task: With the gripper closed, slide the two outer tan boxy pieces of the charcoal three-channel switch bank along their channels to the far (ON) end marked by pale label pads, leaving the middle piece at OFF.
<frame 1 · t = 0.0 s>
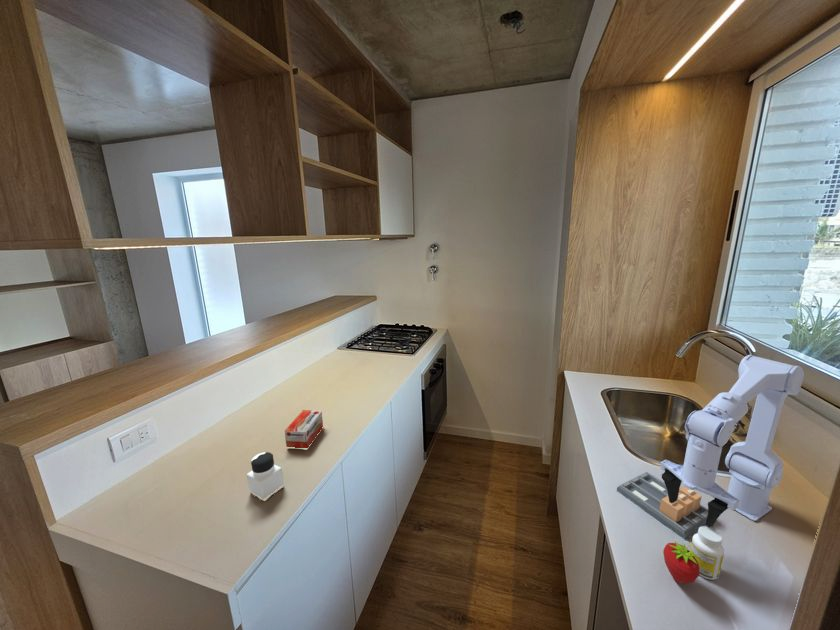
hand: (690, 512, 78), 10 cm above the worktop, fingers open, 7 cm apart
switch bank: (662, 504, 93), on the worktop
medicine bottle: (267, 491, 102), on the worktop
strawberry: (676, 580, 73), on the worktop
supplement bottle: (702, 569, 76), on the worktop
tan boxy piece 3: (671, 508, 87), point 4 cm above the worktop, slide at 0.0 cm
medicine box: (306, 438, 128), on the worktop
tan boxy piece 1: (689, 497, 90), point 4 cm above the worktop, slide at 0.0 cm
tan boxy piece 2: (680, 503, 89), point 4 cm above the worktop, slide at 0.0 cm
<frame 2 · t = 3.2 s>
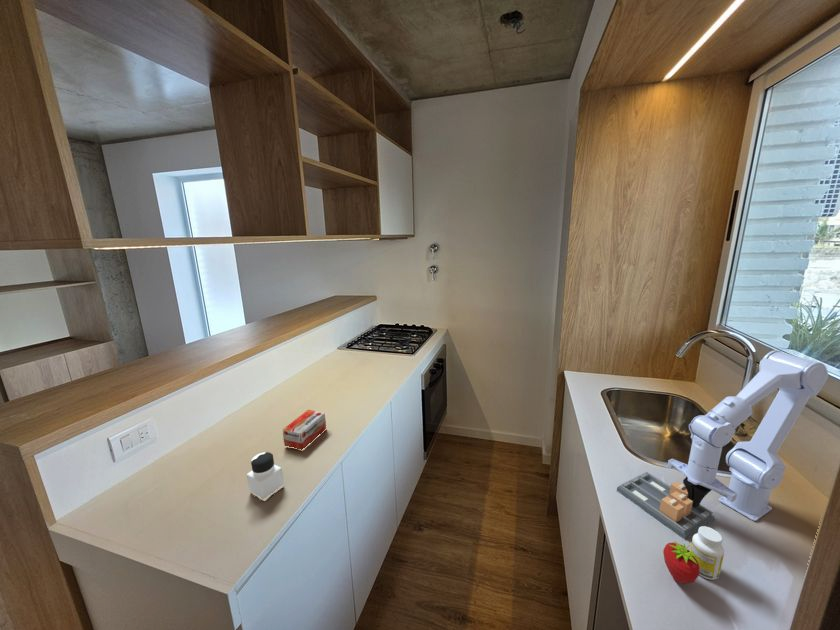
hand: (694, 504, 89), 3 cm above the worktop, fingers closed
tan boxy piece 1: (680, 492, 92), point 4 cm above the worktop, slide at 2.1 cm, touching gripper
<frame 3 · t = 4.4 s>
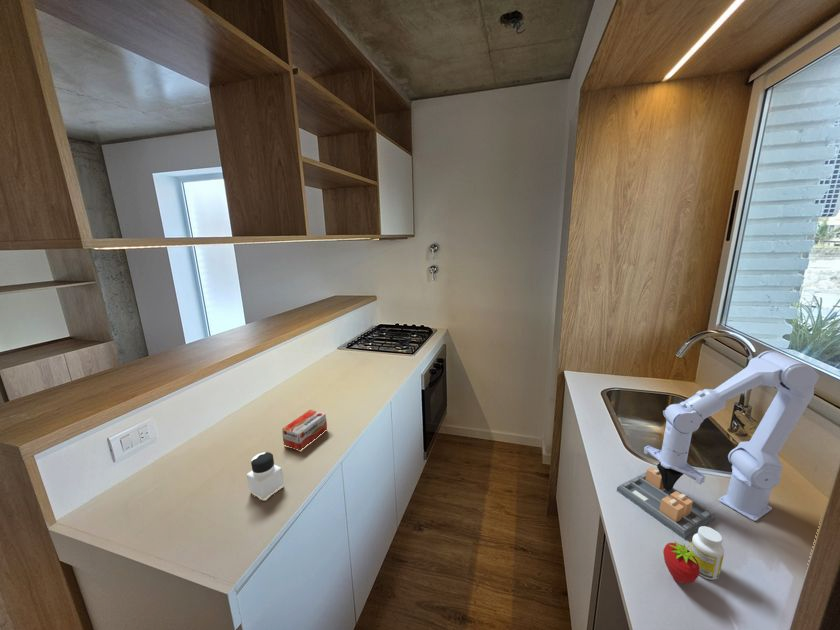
hand: (667, 488, 95), 3 cm above the worktop, fingers closed
tan boxy piece 1: (655, 477, 98), point 4 cm above the worktop, slide at 8.7 cm, touching gripper
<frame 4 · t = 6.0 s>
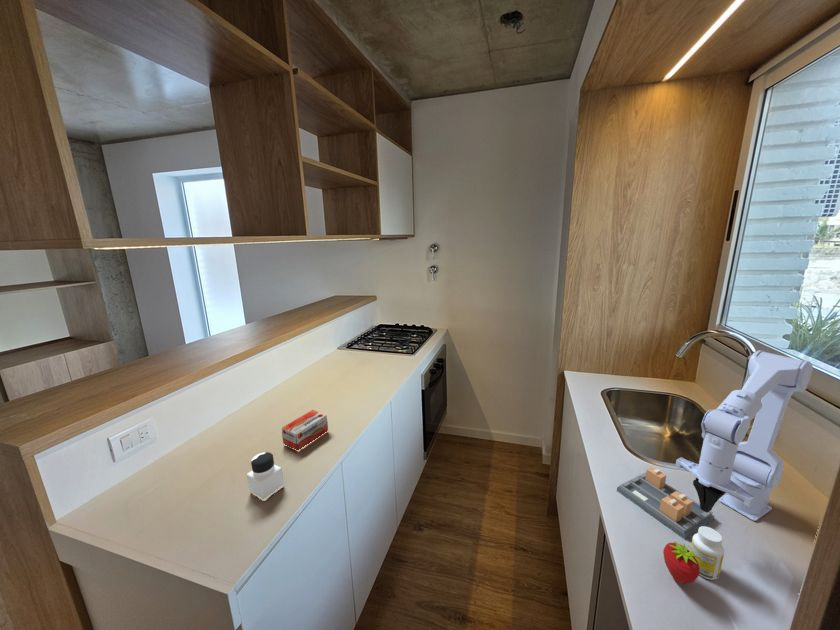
hand: (705, 509, 80), 9 cm above the worktop, fingers closed
tan boxy piece 1: (655, 477, 98), point 4 cm above the worktop, slide at 8.8 cm
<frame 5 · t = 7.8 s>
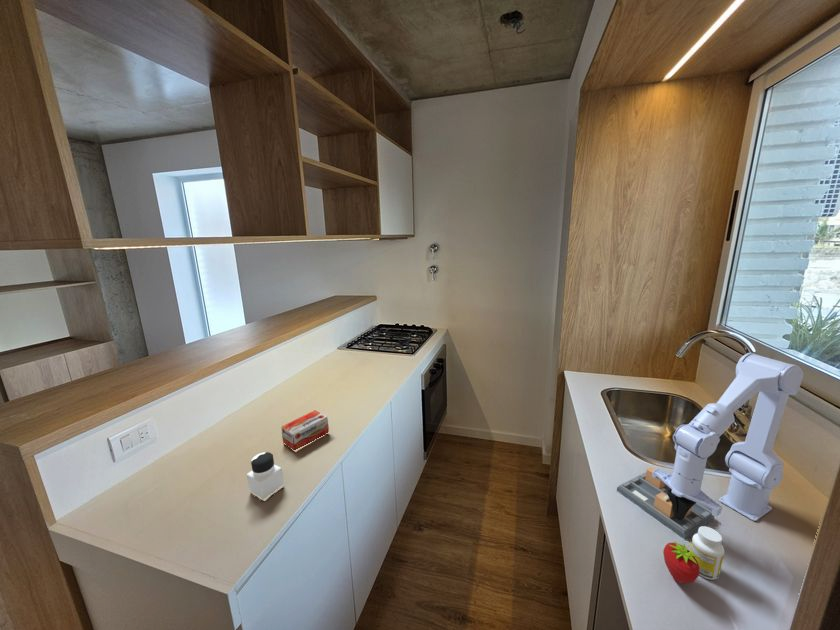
hand: (679, 517, 86), 3 cm above the worktop, fingers closed
tan boxy piece 3: (665, 504, 88), point 4 cm above the worktop, slide at 1.5 cm, touching gripper
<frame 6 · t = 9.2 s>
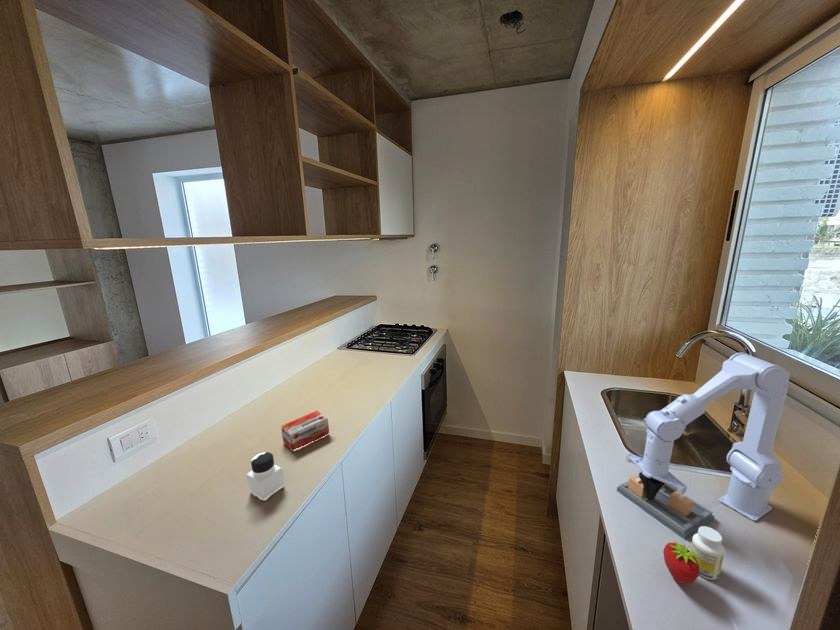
hand: (650, 497, 92), 3 cm above the worktop, fingers closed
tan boxy piece 3: (638, 486, 95), point 4 cm above the worktop, slide at 8.7 cm, touching gripper
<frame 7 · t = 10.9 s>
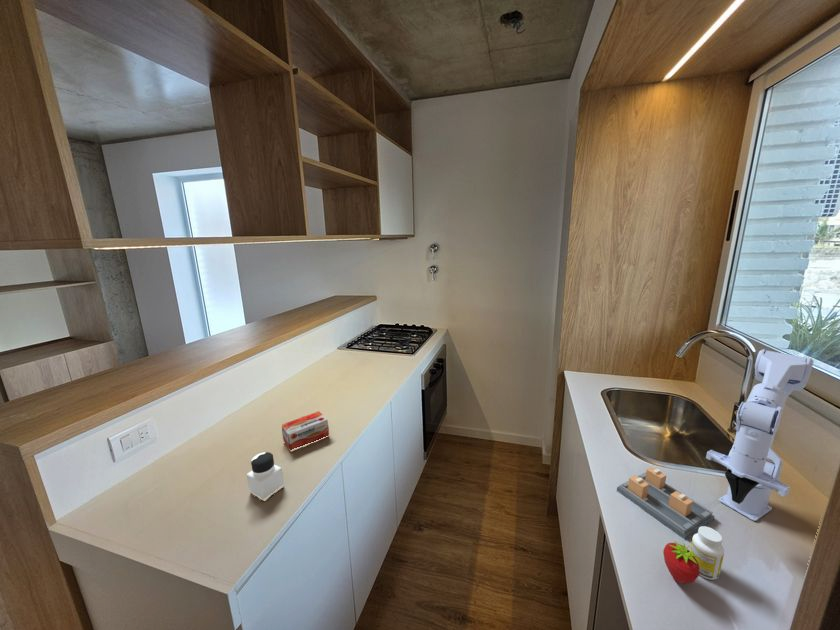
hand: (737, 500, 81), 10 cm above the worktop, fingers closed
tan boxy piece 3: (638, 486, 95), point 4 cm above the worktop, slide at 8.8 cm
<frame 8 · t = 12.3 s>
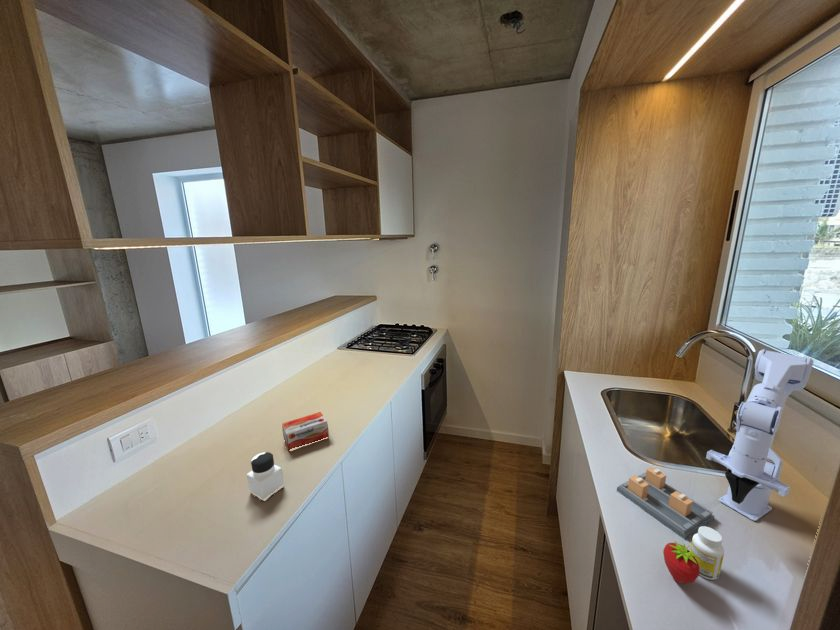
hand: (737, 500, 81), 10 cm above the worktop, fingers closed
at the end: tan boxy piece 1 slide at 8.8 cm; tan boxy piece 3 slide at 8.8 cm; tan boxy piece 2 slide at 0.0 cm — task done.
